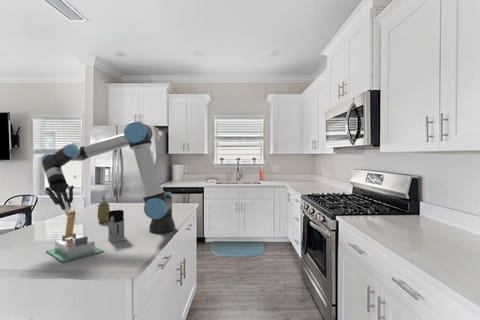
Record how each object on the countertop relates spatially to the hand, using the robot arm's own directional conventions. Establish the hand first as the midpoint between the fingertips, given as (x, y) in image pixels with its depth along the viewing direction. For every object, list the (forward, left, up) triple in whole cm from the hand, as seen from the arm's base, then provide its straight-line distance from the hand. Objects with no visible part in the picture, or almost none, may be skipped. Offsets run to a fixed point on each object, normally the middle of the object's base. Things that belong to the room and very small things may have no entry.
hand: (68, 213), depth 134 cm
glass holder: (-14, -15, -17) cm, 27 cm away
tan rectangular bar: (-2, +1, -5) cm, 6 cm away
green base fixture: (-6, +4, -17) cm, 18 cm away
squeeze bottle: (+20, -53, -17) cm, 60 cm away
